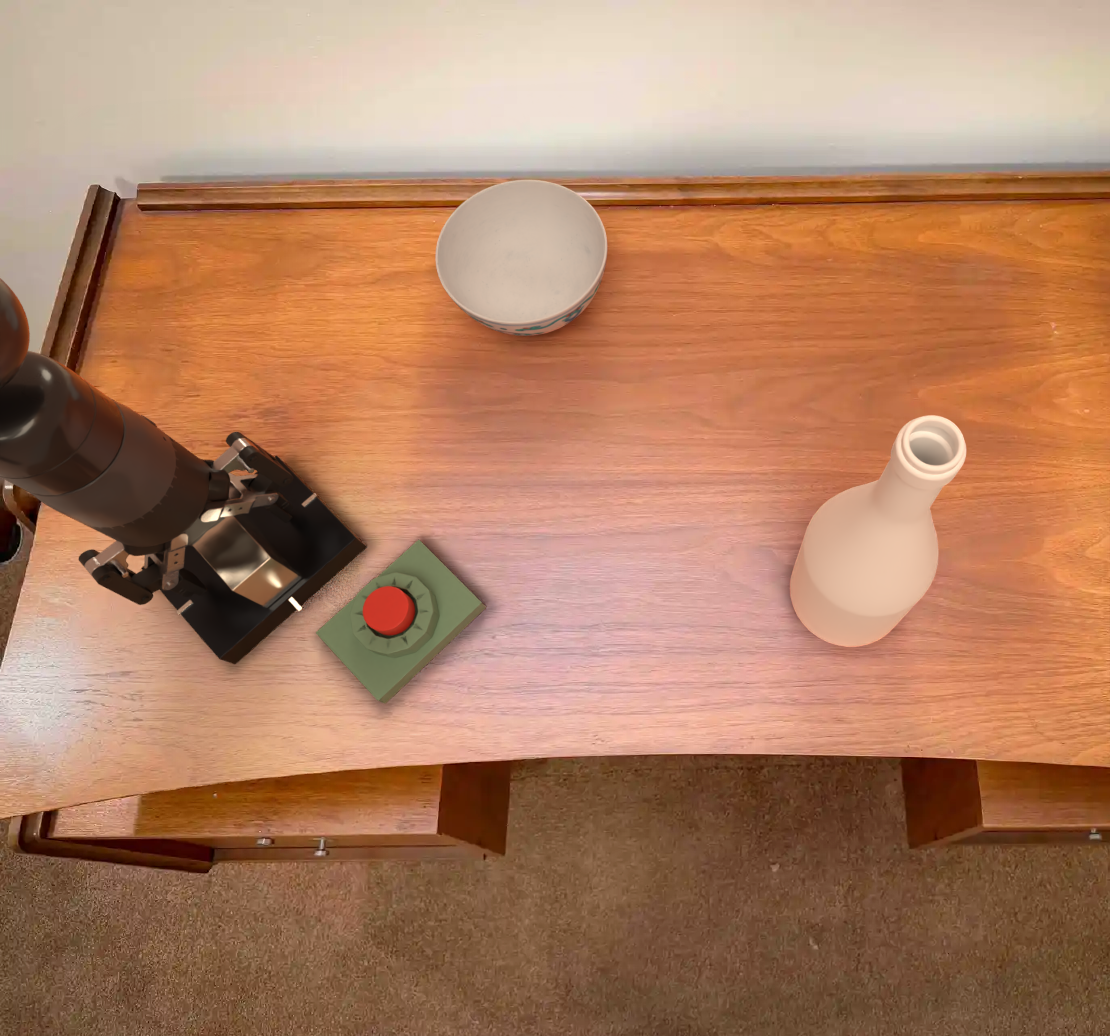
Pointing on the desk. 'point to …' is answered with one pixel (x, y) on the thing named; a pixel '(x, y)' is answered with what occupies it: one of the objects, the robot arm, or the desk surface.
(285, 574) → the silver metal block
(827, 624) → the beige ceramic bottle
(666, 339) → the desk surface
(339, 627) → the green rectangular block
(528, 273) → the chinaware
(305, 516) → the black flat square plate
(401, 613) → the button
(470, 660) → the desk surface
